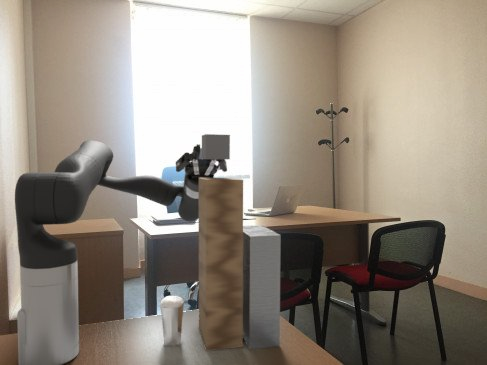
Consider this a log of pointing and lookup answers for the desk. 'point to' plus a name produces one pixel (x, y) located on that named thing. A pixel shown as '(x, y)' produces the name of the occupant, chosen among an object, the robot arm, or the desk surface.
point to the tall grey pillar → (261, 287)
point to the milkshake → (172, 319)
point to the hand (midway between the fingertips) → (206, 147)
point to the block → (215, 147)
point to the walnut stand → (221, 262)
